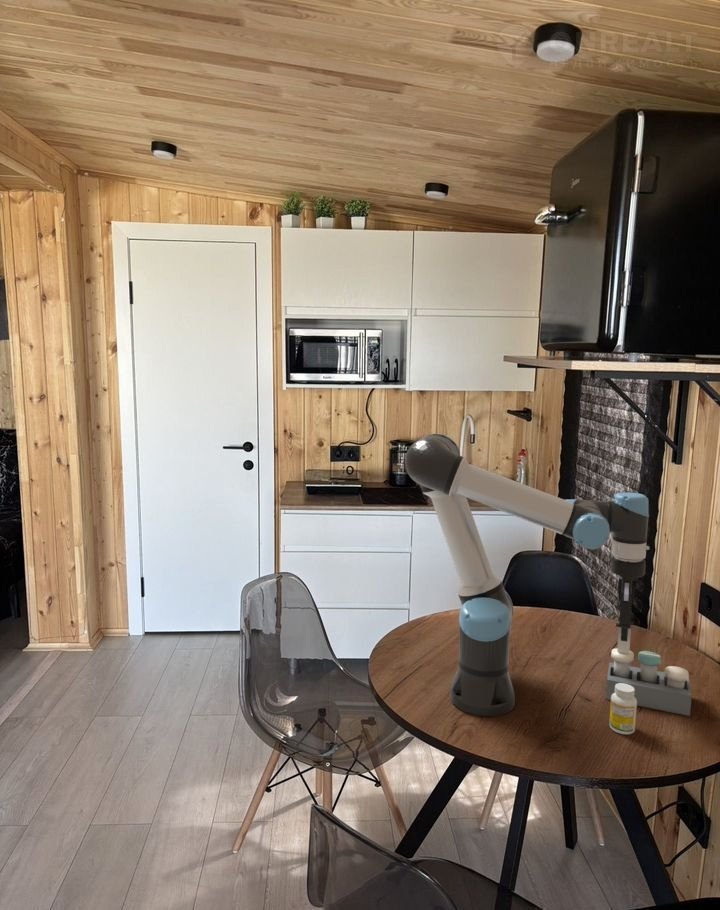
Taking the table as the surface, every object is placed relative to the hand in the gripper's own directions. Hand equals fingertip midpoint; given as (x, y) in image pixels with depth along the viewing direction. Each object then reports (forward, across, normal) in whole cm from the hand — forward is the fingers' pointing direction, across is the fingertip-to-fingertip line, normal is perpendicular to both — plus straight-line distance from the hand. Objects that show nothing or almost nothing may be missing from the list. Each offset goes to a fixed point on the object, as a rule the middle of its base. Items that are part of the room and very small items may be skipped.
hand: (623, 651), depth 154 cm
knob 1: (+7, 0, 0) cm, 7 cm away
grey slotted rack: (+11, 0, -6) cm, 12 cm away
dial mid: (+6, 0, -6) cm, 9 cm away
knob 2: (+9, 0, -12) cm, 15 cm away
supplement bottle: (+11, -17, -1) cm, 20 cm away
